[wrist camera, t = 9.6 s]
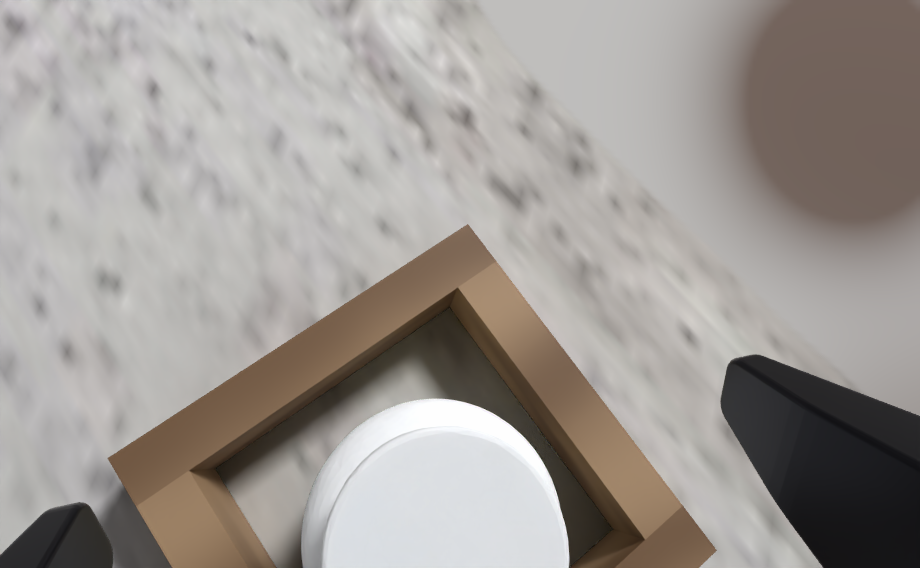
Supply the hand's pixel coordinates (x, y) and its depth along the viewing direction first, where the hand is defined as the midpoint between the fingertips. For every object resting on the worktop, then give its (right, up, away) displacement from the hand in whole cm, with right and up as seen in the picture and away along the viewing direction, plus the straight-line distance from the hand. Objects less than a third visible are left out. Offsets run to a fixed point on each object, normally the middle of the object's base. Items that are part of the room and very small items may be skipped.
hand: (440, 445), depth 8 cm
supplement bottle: (-1, -5, +11) cm, 12 cm away
